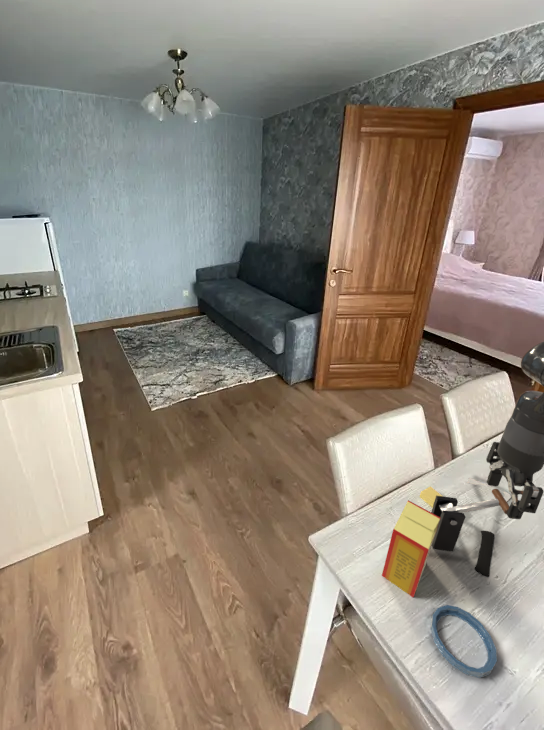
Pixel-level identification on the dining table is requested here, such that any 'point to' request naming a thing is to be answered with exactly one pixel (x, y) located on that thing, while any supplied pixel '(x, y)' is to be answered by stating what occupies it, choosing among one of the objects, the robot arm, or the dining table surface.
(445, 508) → the slicer blade
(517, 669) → the dining table surface
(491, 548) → the kitchen cleaver
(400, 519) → the baking soda box
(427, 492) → the butter pat
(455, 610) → the blue hoop band
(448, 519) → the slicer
